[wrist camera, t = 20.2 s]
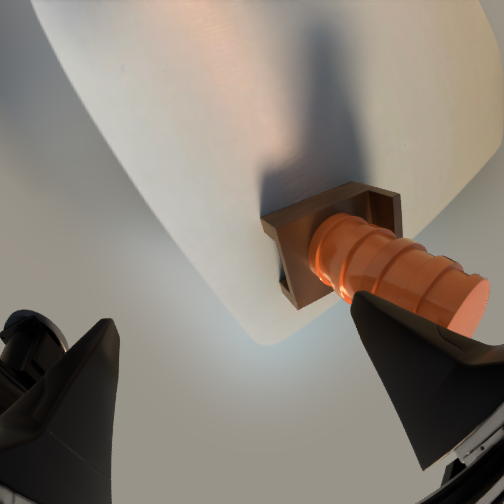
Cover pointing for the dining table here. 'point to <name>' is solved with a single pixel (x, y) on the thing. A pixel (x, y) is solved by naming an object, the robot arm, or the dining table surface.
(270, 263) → the dining table surface
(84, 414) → the robot arm
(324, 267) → the orange ribbed tumbler
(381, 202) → the bookend
